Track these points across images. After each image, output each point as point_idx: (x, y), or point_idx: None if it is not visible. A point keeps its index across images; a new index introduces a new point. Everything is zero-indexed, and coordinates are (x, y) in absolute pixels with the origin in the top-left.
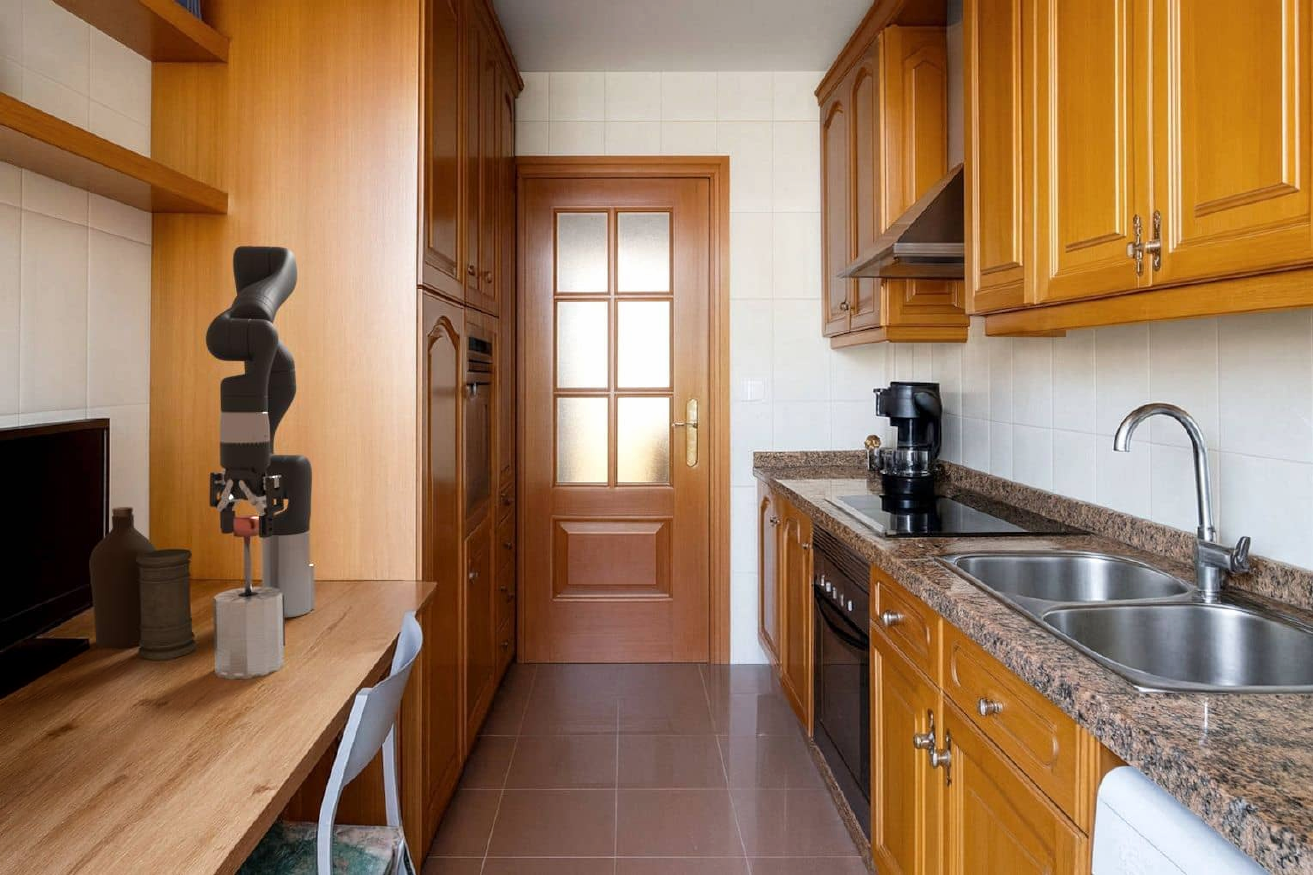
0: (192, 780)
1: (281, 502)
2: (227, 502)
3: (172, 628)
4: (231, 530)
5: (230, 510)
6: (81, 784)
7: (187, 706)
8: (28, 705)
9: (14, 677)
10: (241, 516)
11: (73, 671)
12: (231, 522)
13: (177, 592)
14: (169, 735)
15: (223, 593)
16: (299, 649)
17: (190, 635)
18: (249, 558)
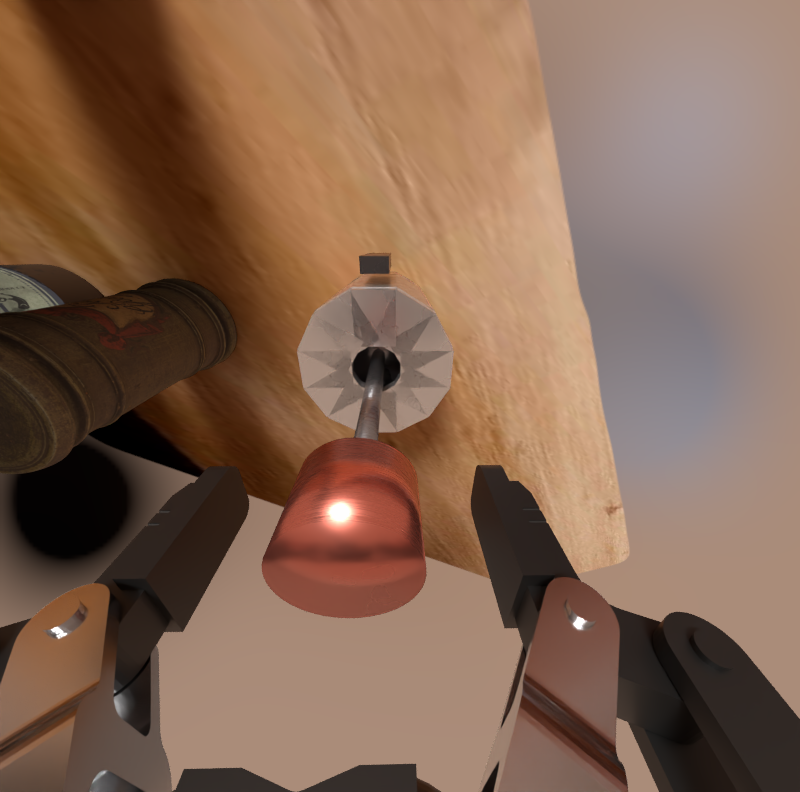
0: (549, 518)
1: (787, 740)
2: (152, 739)
3: (204, 356)
4: (236, 488)
5: (145, 606)
6: (473, 544)
7: (422, 440)
8: (272, 493)
9: (158, 461)
10: (290, 573)
11: (187, 427)
12: (208, 523)
13: (148, 371)
14: (466, 484)
15: (316, 389)
16: (381, 201)
17: (204, 310)
18: (378, 421)
